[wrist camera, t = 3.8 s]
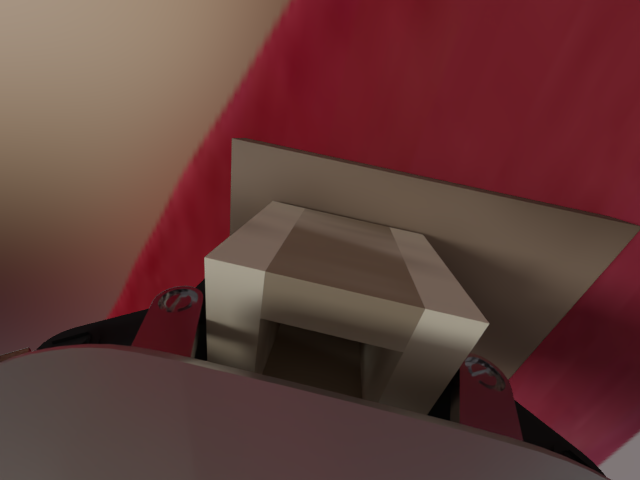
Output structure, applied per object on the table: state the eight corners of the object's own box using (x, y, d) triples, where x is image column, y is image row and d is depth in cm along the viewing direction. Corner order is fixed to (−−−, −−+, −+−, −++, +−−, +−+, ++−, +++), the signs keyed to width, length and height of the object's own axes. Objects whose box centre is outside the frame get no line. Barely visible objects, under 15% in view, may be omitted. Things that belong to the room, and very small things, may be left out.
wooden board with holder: (408, 470, 20) (440, 648, 13) (232, 426, 20) (172, 576, 14) (609, 216, 10) (1264, 423, 3) (244, 137, 10) (13, 146, 3)
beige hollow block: (377, 342, 12) (393, 464, 8) (260, 314, 12) (209, 417, 8) (422, 234, 9) (489, 324, 5) (272, 200, 10) (204, 257, 5)
